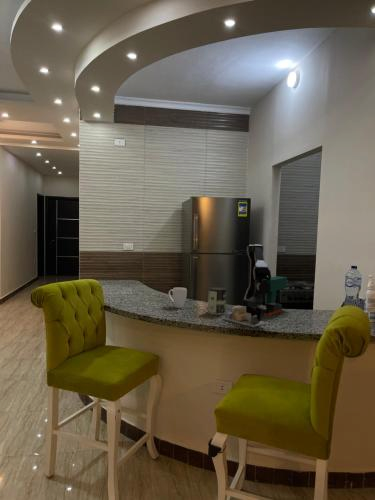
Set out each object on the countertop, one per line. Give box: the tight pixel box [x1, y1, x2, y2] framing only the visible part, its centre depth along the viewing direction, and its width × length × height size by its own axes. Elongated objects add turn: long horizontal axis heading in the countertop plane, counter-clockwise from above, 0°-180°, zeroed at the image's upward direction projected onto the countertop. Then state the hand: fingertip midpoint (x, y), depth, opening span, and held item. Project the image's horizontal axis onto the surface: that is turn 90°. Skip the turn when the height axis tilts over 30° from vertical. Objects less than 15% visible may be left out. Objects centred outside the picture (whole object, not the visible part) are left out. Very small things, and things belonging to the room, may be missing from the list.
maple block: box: [231, 305, 246, 319], centre depth 194 cm, size 4×6×6 cm, turn 134°
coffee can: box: [207, 286, 228, 316], centre depth 209 cm, size 10×10×14 cm
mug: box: [168, 286, 188, 309], centre depth 222 cm, size 12×8×11 cm
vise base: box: [222, 311, 266, 328], centre depth 191 cm, size 10×20×4 cm, turn 44°
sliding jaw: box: [236, 312, 259, 323], centre depth 189 cm, size 9×10×3 cm
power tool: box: [264, 275, 289, 316], centre depth 222 cm, size 32×7×20 cm, turn 141°
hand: (259, 321), depth 184 cm, fingers closed
